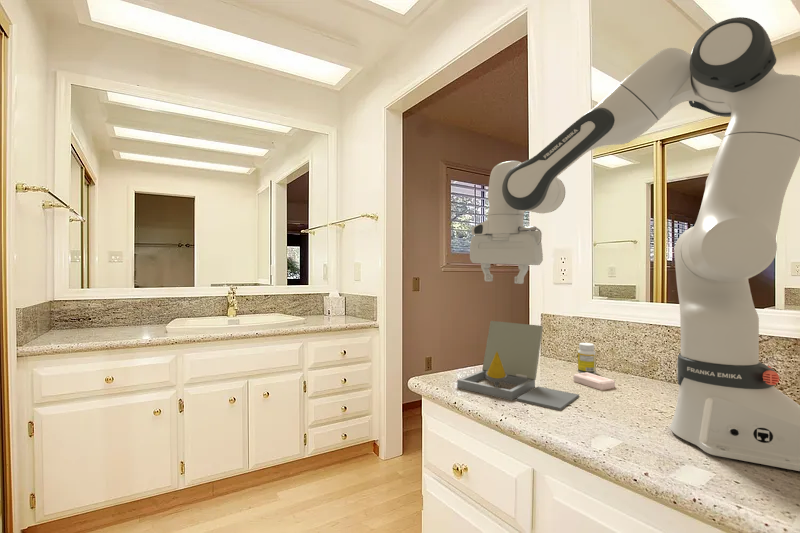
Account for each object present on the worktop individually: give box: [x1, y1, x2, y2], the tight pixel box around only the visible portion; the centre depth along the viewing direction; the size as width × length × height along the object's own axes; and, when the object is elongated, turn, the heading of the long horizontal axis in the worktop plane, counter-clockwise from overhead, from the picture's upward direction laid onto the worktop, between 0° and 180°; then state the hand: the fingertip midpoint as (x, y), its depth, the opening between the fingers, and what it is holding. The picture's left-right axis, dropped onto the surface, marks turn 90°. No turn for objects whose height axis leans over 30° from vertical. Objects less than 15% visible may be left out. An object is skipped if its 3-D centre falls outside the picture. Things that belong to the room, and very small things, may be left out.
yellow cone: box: [486, 352, 507, 387], centre depth 103 cm, size 5×5×10 cm
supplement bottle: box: [577, 342, 597, 375], centre depth 118 cm, size 5×5×8 cm
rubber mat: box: [516, 386, 580, 411], centre depth 95 cm, size 10×12×1 cm
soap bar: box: [572, 372, 616, 391], centre depth 106 cm, size 5×9×2 cm, turn 23°
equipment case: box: [456, 320, 544, 401], centre depth 107 cm, size 15×20×15 cm
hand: (503, 282), depth 103 cm, fingers open, 8 cm apart
